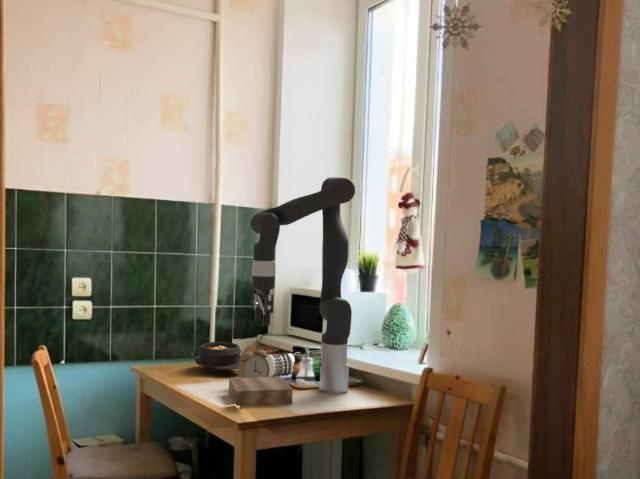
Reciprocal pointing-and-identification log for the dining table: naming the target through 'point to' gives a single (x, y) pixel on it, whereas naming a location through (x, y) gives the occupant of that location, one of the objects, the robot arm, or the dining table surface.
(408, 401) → the dining table surface
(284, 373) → the decorative candle
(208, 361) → the casserole
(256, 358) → the alarm clock
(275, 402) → the walnut block
